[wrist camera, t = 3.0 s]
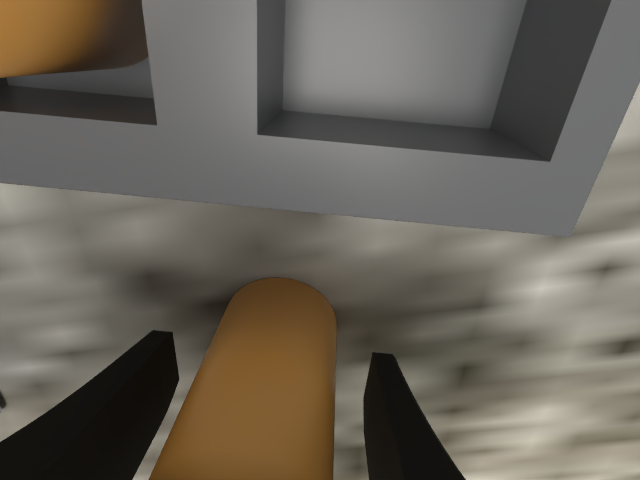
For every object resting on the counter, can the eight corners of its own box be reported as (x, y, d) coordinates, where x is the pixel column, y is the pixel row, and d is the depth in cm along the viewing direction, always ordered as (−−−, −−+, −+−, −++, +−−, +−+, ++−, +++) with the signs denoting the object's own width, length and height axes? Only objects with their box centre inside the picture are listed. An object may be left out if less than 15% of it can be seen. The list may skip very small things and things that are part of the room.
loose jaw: (331, 369, 14) (323, 566, 9) (228, 359, 14) (157, 547, 9) (342, 283, 12) (341, 466, 7) (223, 272, 12) (129, 443, 7)
